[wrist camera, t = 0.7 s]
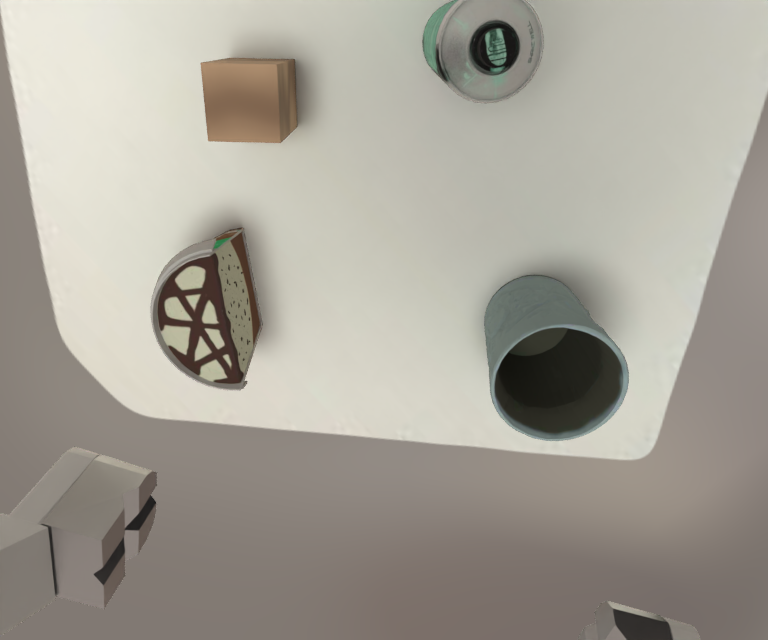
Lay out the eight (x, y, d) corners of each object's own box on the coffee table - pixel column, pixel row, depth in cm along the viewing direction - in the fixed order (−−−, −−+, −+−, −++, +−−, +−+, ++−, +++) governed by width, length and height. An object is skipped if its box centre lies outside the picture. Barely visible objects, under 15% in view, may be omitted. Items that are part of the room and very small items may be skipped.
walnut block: (229, 57, 48) (200, 62, 41) (294, 59, 48) (276, 64, 41) (235, 125, 50) (208, 141, 43) (297, 126, 50) (280, 142, 43)
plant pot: (593, 349, 58) (639, 422, 47) (488, 379, 60) (510, 456, 49) (571, 251, 54) (615, 307, 43) (459, 286, 56) (475, 348, 45)
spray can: (454, 95, 49) (491, 134, 31) (407, 40, 47) (415, 47, 29) (509, 42, 47) (580, 50, 29) (461, -17, 46) (506, -47, 28)
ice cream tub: (169, 217, 53) (123, 255, 44) (239, 210, 53) (208, 247, 44) (201, 344, 59) (166, 402, 50) (265, 339, 58) (242, 396, 49)
